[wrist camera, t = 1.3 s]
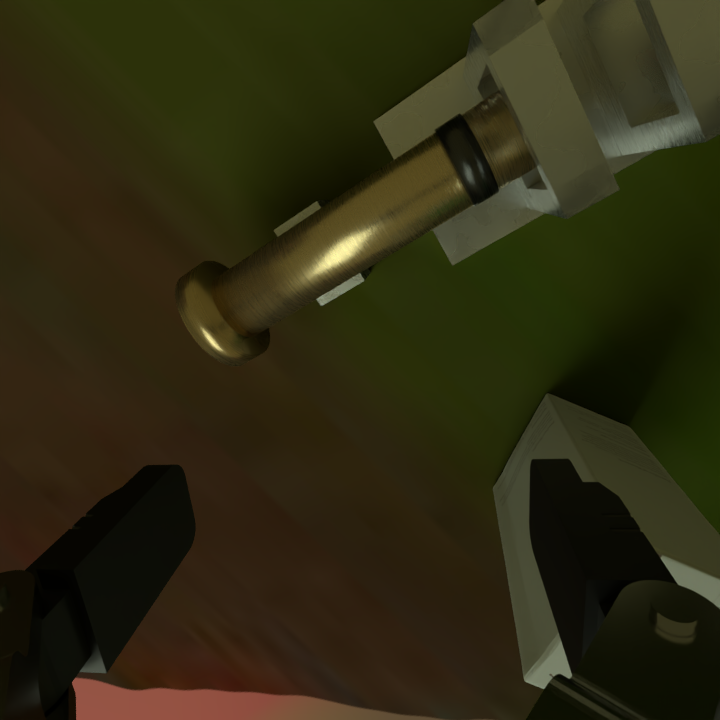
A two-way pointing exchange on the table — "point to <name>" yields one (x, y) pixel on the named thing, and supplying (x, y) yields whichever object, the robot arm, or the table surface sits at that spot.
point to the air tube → (353, 231)
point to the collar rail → (567, 103)
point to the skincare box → (623, 477)
